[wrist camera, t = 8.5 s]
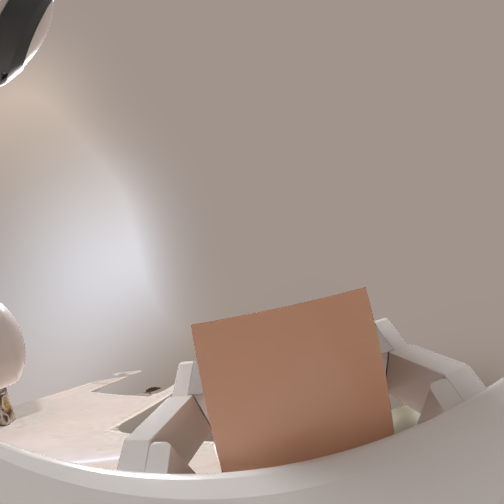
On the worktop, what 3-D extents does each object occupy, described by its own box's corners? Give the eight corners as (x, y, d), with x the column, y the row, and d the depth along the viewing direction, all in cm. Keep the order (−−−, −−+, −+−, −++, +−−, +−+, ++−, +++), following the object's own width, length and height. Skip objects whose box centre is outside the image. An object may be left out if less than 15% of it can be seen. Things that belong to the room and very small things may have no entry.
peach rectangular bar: (225, 485, 5) (191, 325, 6) (268, 378, 28) (260, 341, 29) (395, 447, 5) (365, 286, 6) (307, 370, 28) (299, 333, 29)
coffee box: (8, 425, 61) (-6, 384, 63) (-4, 424, 59) (-17, 384, 61) (16, 418, 69) (4, 380, 72) (5, 418, 67) (-7, 380, 69)
